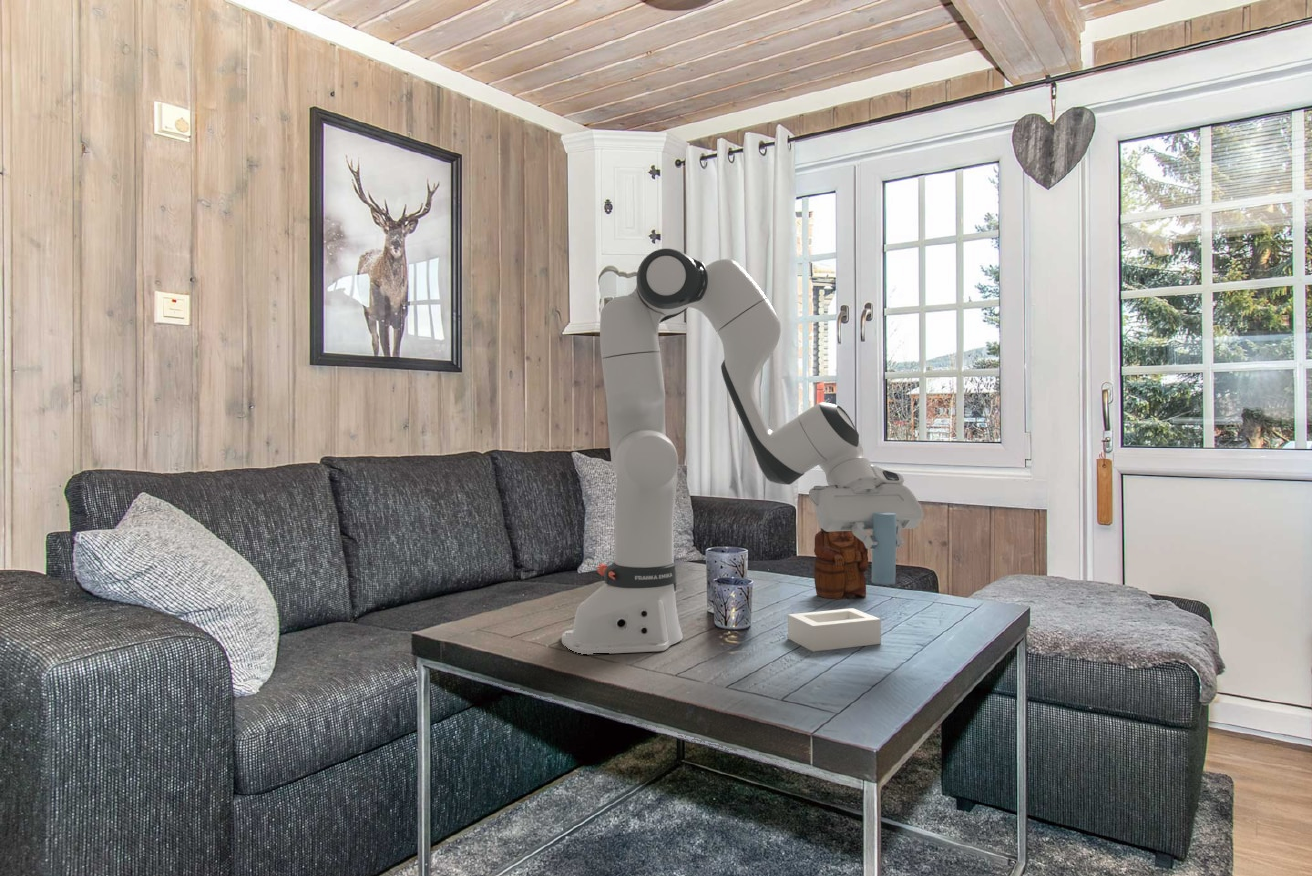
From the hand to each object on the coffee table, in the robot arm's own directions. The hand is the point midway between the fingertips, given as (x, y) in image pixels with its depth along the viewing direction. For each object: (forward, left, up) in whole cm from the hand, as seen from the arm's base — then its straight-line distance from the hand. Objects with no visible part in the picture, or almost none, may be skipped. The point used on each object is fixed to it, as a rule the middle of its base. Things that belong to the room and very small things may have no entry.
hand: (885, 546), depth 137 cm
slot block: (-5, +9, -19) cm, 21 cm away
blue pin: (0, +1, -6) cm, 6 cm away
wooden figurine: (+17, +41, -19) cm, 49 cm away
